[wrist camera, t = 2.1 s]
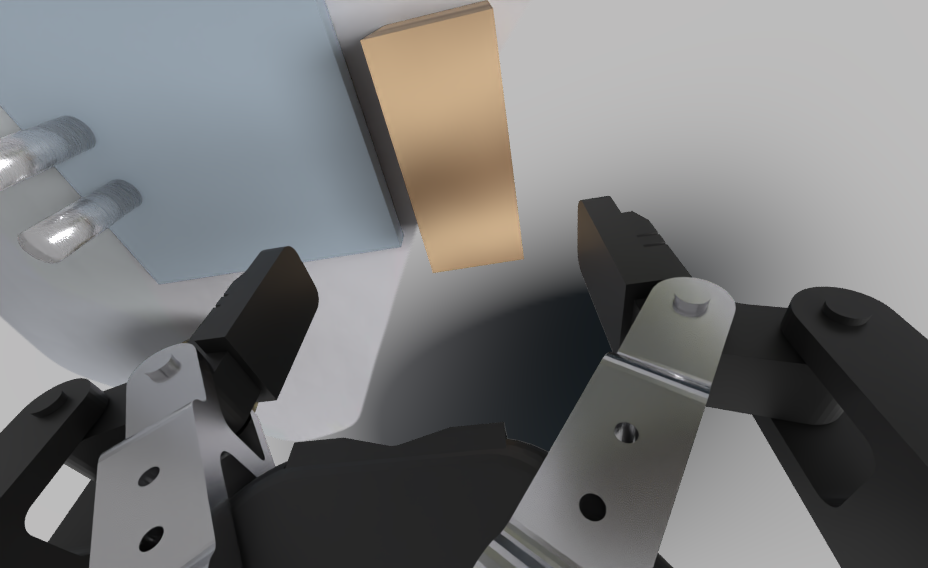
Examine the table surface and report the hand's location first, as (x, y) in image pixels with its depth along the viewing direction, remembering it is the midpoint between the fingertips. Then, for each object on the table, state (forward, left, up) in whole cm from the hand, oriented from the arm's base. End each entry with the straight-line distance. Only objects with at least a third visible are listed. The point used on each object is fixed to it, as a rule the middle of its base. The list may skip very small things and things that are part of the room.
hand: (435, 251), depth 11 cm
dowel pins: (+18, -2, -10) cm, 20 cm away
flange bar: (0, 0, -11) cm, 11 cm away
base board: (+12, -2, -11) cm, 16 cm away
